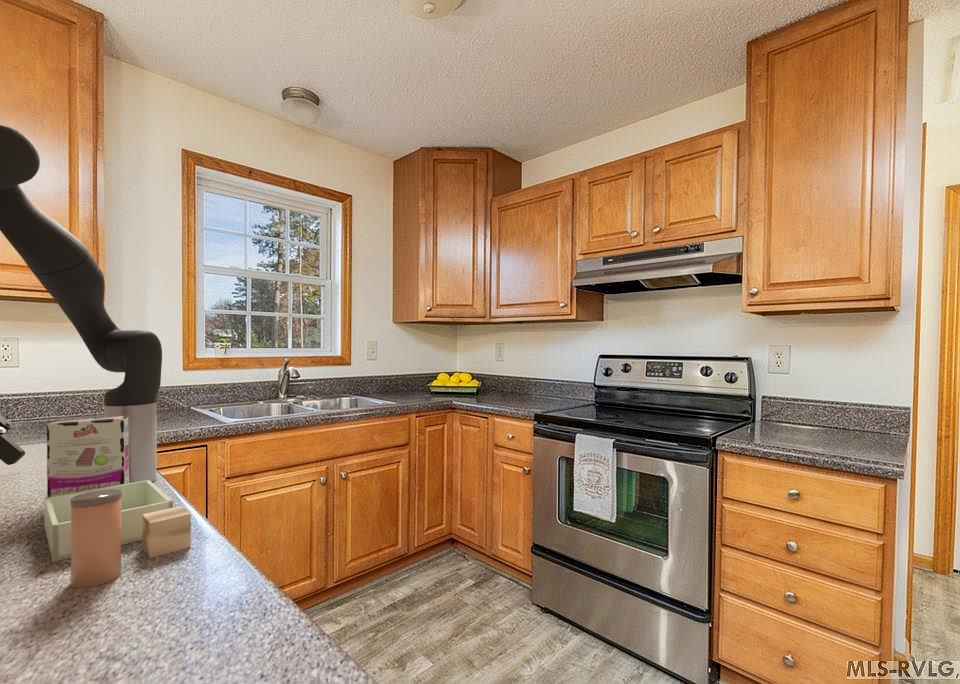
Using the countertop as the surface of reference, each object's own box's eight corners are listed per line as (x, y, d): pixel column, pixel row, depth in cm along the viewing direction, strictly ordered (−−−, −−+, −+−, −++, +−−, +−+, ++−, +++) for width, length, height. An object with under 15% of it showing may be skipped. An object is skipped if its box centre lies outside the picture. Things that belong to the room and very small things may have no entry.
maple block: (142, 548, 69) (142, 514, 69) (181, 538, 73) (181, 505, 73) (150, 558, 66) (150, 523, 66) (190, 547, 69) (190, 513, 69)
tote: (44, 528, 76) (44, 497, 76) (148, 506, 87) (149, 479, 87) (52, 562, 64) (52, 525, 64) (172, 532, 75) (172, 501, 75)
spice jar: (86, 570, 62) (86, 490, 62) (129, 567, 63) (129, 488, 63) (60, 590, 57) (60, 503, 57) (107, 586, 58) (107, 500, 58)
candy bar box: (130, 498, 91) (130, 414, 91) (124, 506, 87) (124, 418, 87) (55, 508, 86) (55, 419, 86) (45, 517, 82) (45, 423, 82)
